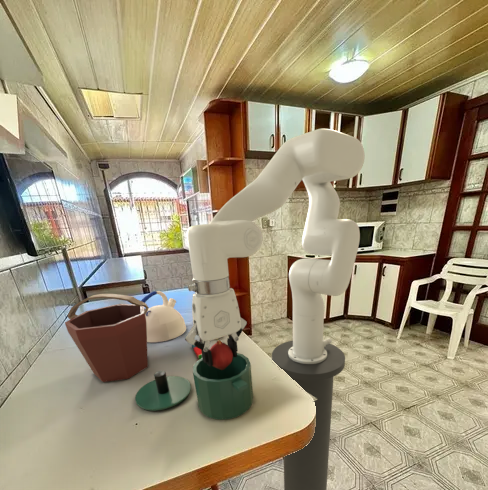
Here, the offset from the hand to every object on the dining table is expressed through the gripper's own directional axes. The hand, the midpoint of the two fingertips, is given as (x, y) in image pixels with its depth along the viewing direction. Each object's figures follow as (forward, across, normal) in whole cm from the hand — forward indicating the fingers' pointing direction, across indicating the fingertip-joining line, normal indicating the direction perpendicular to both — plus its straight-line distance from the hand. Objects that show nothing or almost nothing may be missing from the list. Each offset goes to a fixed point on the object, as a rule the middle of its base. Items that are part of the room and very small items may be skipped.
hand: (221, 358), depth 64 cm
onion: (+3, 0, 0) cm, 3 cm away
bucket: (+12, -19, +36) cm, 43 cm away
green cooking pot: (+12, 0, 0) cm, 12 cm away
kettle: (+12, +1, +57) cm, 58 cm away
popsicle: (+12, +6, +27) cm, 30 cm away
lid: (+12, -12, +13) cm, 21 cm away
